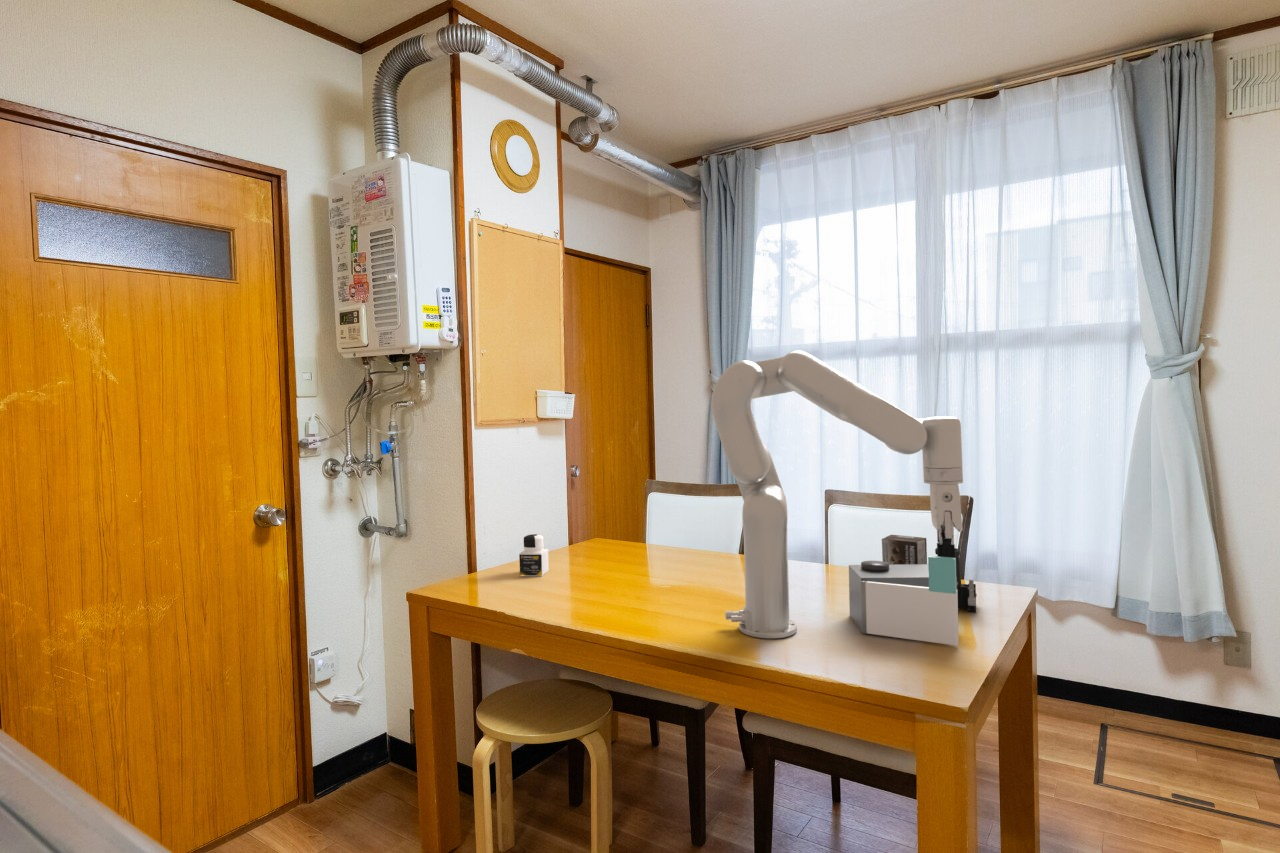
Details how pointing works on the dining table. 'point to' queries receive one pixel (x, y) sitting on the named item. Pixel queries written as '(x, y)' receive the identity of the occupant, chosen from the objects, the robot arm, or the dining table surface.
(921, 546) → the coffee box
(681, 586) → the dining table surface
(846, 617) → the dining table surface
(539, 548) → the medicine bottle
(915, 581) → the plain gray box
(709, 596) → the dining table surface
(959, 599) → the scope
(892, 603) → the side door
